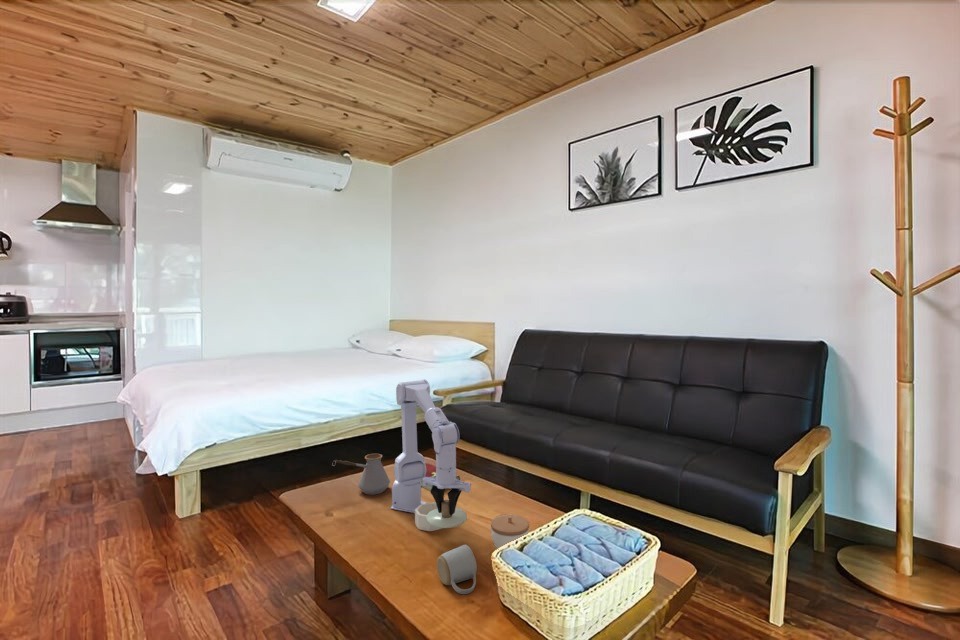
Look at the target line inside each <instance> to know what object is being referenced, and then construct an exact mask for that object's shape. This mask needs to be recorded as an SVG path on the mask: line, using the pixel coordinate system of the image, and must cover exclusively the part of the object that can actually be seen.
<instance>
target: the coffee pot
mask: <svg viewBox="0 0 960 640" xmlns="http://www.w3.org/2000/svg"><path fill="white" fill-rule="evenodd" d="M382 458H383V454H380V453H369V454H367V455H365V456H364V460H366V464H363V463H355V462H352V461H348V460H342V459H340V460H338V459H334V460H333V461H332V463H331V466H333V467H335V466H336V463H338V464H343V465H345V466H346V465H347V466H354V467H360V468H364V469H363V471H362V473H361V476H360V479H359V481H358V488H359V490H360V491H361V492H363V493H364V494H366V495H370V496H371V495H374V496H375V495H380V494H382V493H383V492H385V490H386V489H387V488H388V487H389V486H390V483H391V480H390V477H389V476H388V474H387V471H386V470H385V468H384V465H383V463H382V461H381V460H382Z"/></svg>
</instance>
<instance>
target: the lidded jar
mask: <svg viewBox="0 0 960 640" xmlns="http://www.w3.org/2000/svg"><path fill="white" fill-rule="evenodd" d="M529 528H530V522H529V521H528V518H525V517H524V516H521V515H519V514H514V513H512V514H511V513H506V514H500V515H497V516H495V517H493V518H492V520H491V521H490V529H491V533H490V534H491V538H492V542H493V544H494V546H495V548H496V549H498V548H499V547H501V546H503V545H505V544H507V543H509V542H511V541H514V540H516V539H518V538H520V537H522V536H524V535H526V534H528V533H529V531H530V529H529Z"/></svg>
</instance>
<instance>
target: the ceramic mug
mask: <svg viewBox="0 0 960 640" xmlns="http://www.w3.org/2000/svg"><path fill="white" fill-rule="evenodd" d="M436 569H437V573H438V577H439V579H440V581H441V583H442V584H444V585H445V586H452V588H453V590H454V591H455V592H456V593H458V594H461V595H468V594H471V593H472V592H473V591H474V589H475V588H476V583H477V579H476V575H477V573H478V571H477V570H478V565H477V561H476V558H475V555H474V553H473V550H472V548H470V546H469V545H468V544H462V545H460V546H458V547H456V548H453V549H451V550H448V551H446V552H443V553H441V555H439V556H438V558H437V560H436ZM470 579H472V582H473V583H472V586H471V587H470V588H465V589H464V588H460V587H458V586H457V583H458V584H459V583H461V582H464V581H468V580H470Z"/></svg>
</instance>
